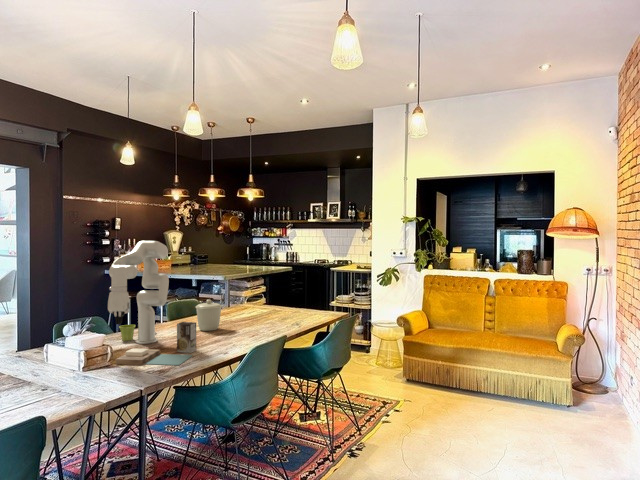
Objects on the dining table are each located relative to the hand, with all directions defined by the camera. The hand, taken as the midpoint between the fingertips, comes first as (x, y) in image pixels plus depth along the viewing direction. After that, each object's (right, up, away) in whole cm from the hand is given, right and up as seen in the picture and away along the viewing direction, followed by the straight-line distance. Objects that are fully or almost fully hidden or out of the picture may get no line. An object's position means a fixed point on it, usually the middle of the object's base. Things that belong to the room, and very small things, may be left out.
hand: (118, 323), depth 233 cm
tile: (+10, -16, -1) cm, 19 cm away
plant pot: (-13, -18, +41) cm, 47 cm away
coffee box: (+31, -19, +16) cm, 40 cm away
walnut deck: (+11, -19, -1) cm, 21 cm away
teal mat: (+28, -19, -2) cm, 34 cm away
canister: (+30, -18, +72) cm, 80 cm away
